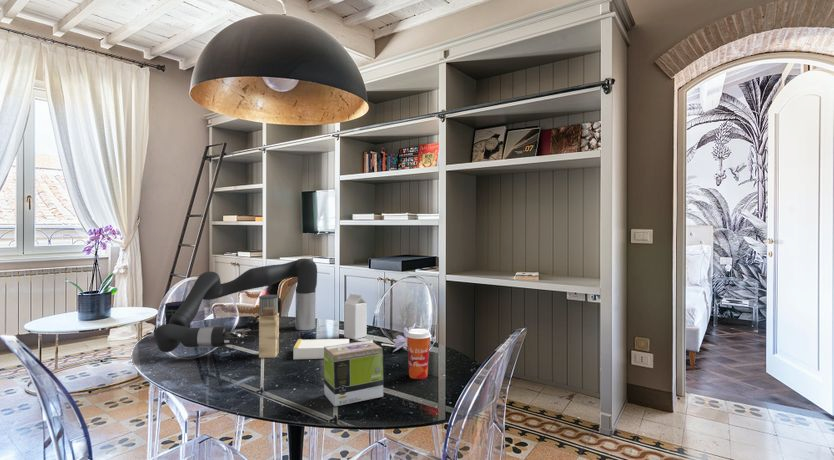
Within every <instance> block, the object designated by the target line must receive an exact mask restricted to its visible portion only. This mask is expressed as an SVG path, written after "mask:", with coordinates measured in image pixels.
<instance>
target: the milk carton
mask: <svg viewBox="0 0 834 460" xmlns="http://www.w3.org/2000/svg"><path fill="white" fill-rule="evenodd" d="M343 304H344V305H343V306H344V307H343V337H344V338H345V339H349V340H350V339H352V340H359V339H362V338H366V337H367V333H368V332H367V325H368V324H367V321H368V320H367V319H368V318H367V315H368V314H367V313H368V311H367V309H368V308H367V307H368V304H367V301H366V300H364V298H363V297H362V295H361V294H356V293H349V296H348V298H347V299H346V301H344V303H343Z"/></svg>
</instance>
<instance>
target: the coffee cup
mask: <svg viewBox="0 0 834 460" xmlns="http://www.w3.org/2000/svg"><path fill="white" fill-rule="evenodd" d="M408 330H409V329H408ZM406 336H407V343H406V345H407V356H408V357H407V361H408V376H409V378H410V379H413V380H425V379H427V378H428V372H429V356H430V341H431V340H430V339H431V337H432V334H431V332H430V330H428V329H425V328H414V329H411V330H409V331H408V333H407V334H406Z"/></svg>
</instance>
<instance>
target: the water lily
mask: <svg viewBox="0 0 834 460" xmlns="http://www.w3.org/2000/svg"><path fill="white" fill-rule="evenodd" d="M415 327H416V322H415V323H413V325H411V326H410V327H408V328H407V327H404V328H403V335H396V336H395V338H396V339H393V340H392V341H393V342H395V343H394V344H393V345H394V346H393V348H395V349H394V350H393V351H392V353H394V352H396V351H398V350H400V349H401V348H402V347H404V346H405V345H407V336H406V334H407V333H408V331H409V330H411V329H416V328H415Z"/></svg>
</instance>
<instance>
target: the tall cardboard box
mask: <svg viewBox="0 0 834 460" xmlns="http://www.w3.org/2000/svg"><path fill="white" fill-rule="evenodd" d="M258 316H259V315H258ZM258 322H259V324H258V330H259V336H258V358H259V359H264V358H265V359H267V358H269V359H270V358H276V357H277V356H278V355H279V352H280V351H279V349H280V347H279V346H280V339H279V337H280V336H279V335H280V330H279V329H280V318H279V313H276V315H275V316H262V314H261V315H260V316H259V318H258Z"/></svg>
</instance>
